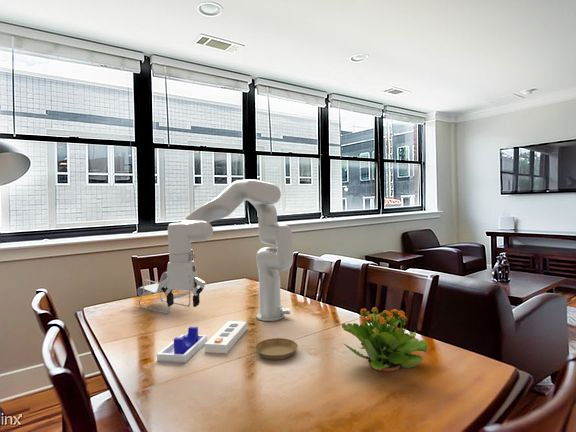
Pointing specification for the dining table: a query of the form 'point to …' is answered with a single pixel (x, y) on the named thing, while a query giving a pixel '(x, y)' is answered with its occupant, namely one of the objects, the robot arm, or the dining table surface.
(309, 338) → the dining table surface
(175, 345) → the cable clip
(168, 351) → the cable tray
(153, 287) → the chair
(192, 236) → the robot arm
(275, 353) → the plant saucer
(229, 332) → the power strip
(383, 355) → the potted flower
